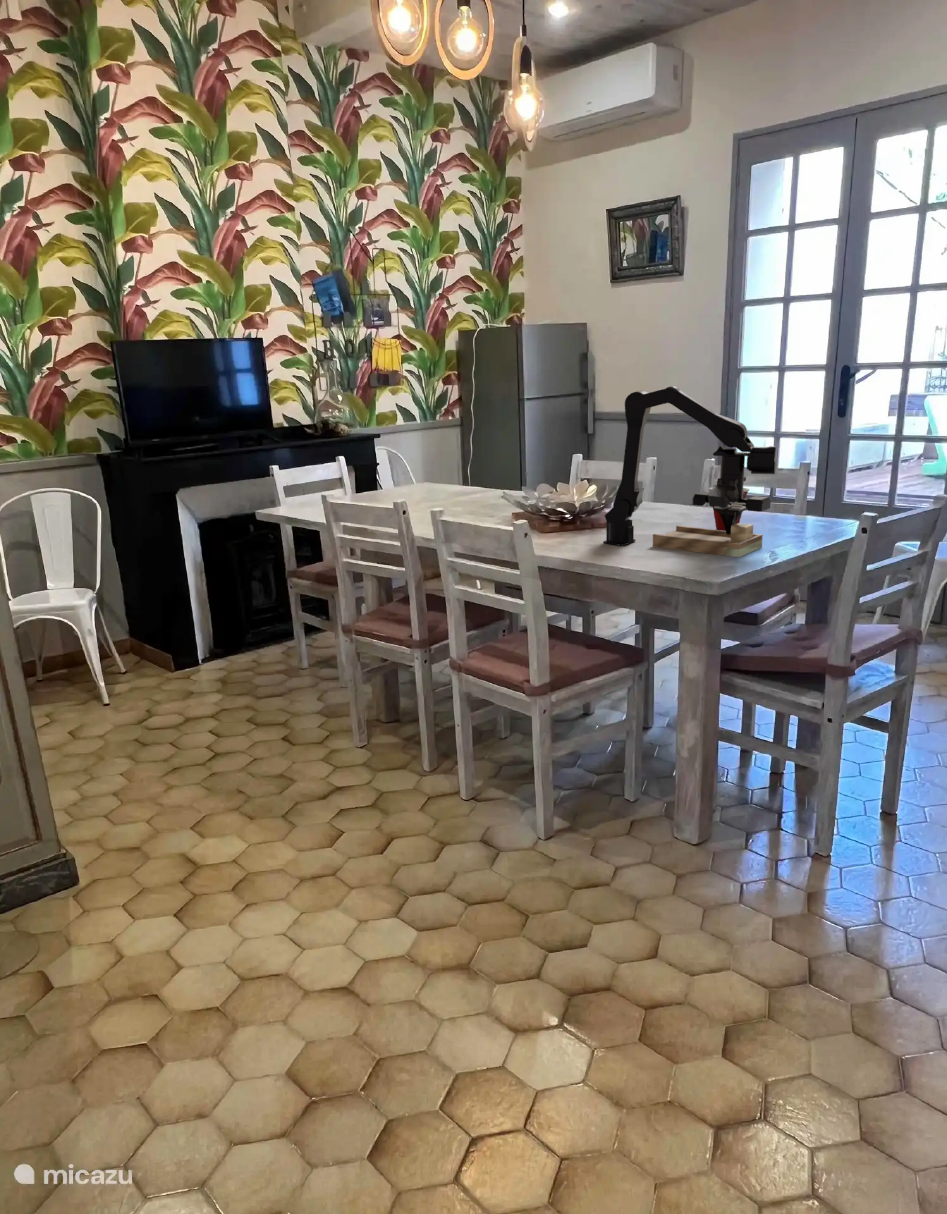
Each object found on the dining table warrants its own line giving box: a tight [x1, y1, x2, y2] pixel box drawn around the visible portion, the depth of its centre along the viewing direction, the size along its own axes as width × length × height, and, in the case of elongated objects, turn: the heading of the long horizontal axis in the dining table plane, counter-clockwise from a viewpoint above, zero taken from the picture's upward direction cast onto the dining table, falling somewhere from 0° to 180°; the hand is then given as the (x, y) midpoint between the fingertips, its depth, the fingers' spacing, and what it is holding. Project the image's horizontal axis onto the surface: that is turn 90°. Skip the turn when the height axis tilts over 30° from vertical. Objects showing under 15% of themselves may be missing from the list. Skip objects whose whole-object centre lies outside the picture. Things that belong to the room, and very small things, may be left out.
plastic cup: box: [708, 486, 750, 531], centre depth 232 cm, size 11×11×12 cm
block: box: [731, 522, 754, 543], centre depth 210 cm, size 4×4×4 cm
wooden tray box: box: [652, 525, 763, 558], centre depth 215 cm, size 24×13×3 cm, turn 48°
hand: (728, 534), depth 213 cm, fingers closed
